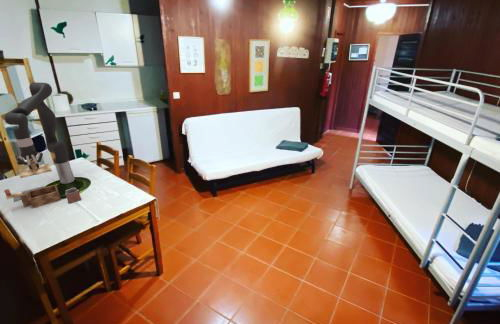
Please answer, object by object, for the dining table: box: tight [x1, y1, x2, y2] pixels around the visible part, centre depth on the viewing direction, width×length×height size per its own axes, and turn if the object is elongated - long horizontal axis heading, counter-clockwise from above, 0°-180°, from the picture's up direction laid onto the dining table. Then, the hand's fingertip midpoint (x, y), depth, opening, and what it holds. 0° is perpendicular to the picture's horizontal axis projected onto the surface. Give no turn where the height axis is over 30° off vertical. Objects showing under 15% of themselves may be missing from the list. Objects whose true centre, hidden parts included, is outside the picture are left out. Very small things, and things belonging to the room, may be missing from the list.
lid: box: [18, 159, 53, 179], centre depth 169 cm, size 16×12×6 cm
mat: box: [12, 185, 45, 202], centre depth 187 cm, size 18×12×1 cm, turn 131°
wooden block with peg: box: [3, 188, 23, 200], centre depth 167 cm, size 8×2×6 cm, turn 131°
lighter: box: [64, 187, 82, 204], centre depth 179 cm, size 8×3×10 cm, turn 134°
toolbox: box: [20, 184, 62, 209], centre depth 177 cm, size 20×12×8 cm, turn 131°
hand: (34, 168), depth 170 cm, fingers closed on lid, 2 cm apart
